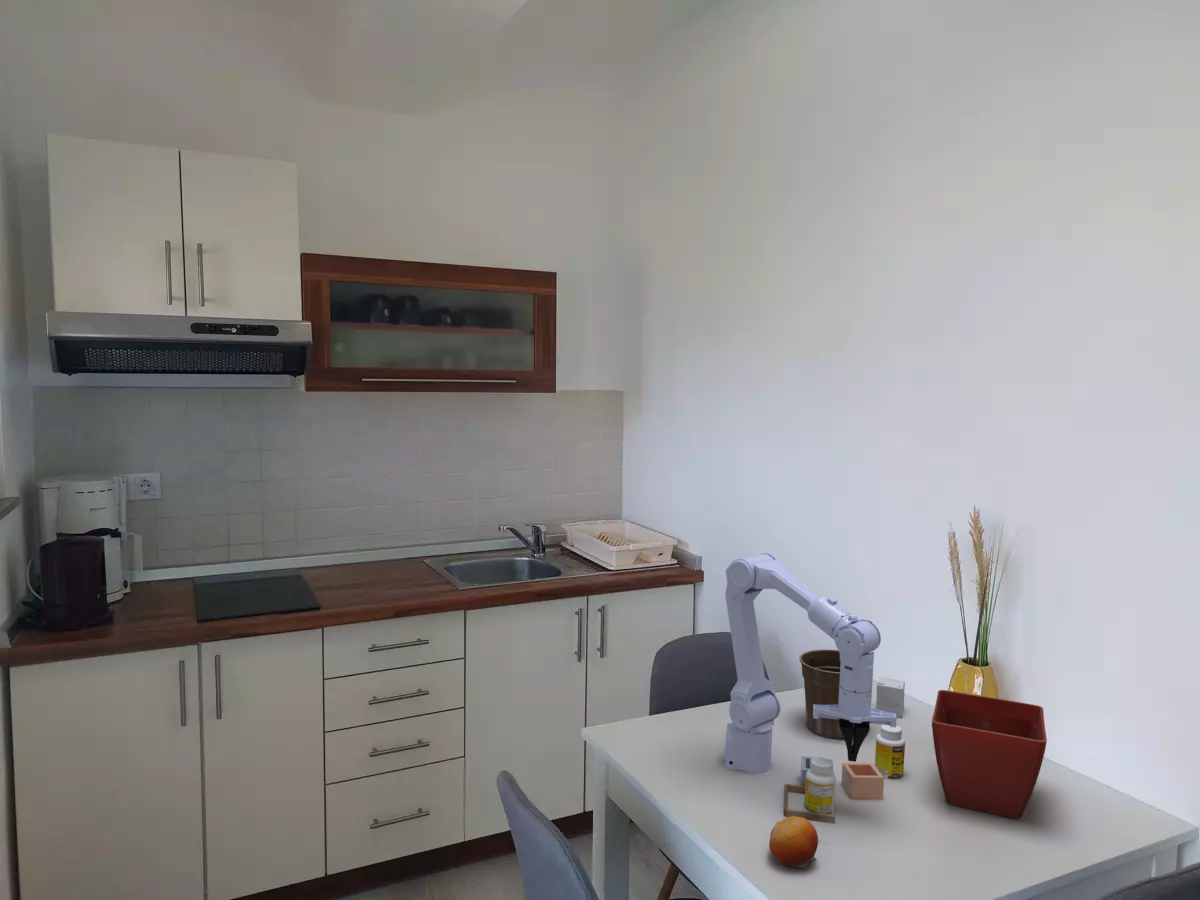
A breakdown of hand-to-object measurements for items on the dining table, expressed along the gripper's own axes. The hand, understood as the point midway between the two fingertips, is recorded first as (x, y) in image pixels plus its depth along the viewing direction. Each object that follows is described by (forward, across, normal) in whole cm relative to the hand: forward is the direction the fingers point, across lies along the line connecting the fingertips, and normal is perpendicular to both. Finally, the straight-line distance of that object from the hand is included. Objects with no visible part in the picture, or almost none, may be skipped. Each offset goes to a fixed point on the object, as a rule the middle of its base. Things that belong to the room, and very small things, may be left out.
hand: (851, 759), depth 152 cm
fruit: (+11, -10, -18) cm, 23 cm away
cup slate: (+10, -6, +8) cm, 14 cm away
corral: (+10, -7, -1) cm, 13 cm away
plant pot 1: (+11, -1, +38) cm, 40 cm away
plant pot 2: (+10, +26, +13) cm, 31 cm away
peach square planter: (+10, +3, +8) cm, 13 cm away
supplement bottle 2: (+11, +9, +17) cm, 22 cm away
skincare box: (+11, +13, +52) cm, 55 cm away
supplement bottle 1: (+11, -5, -1) cm, 12 cm away
